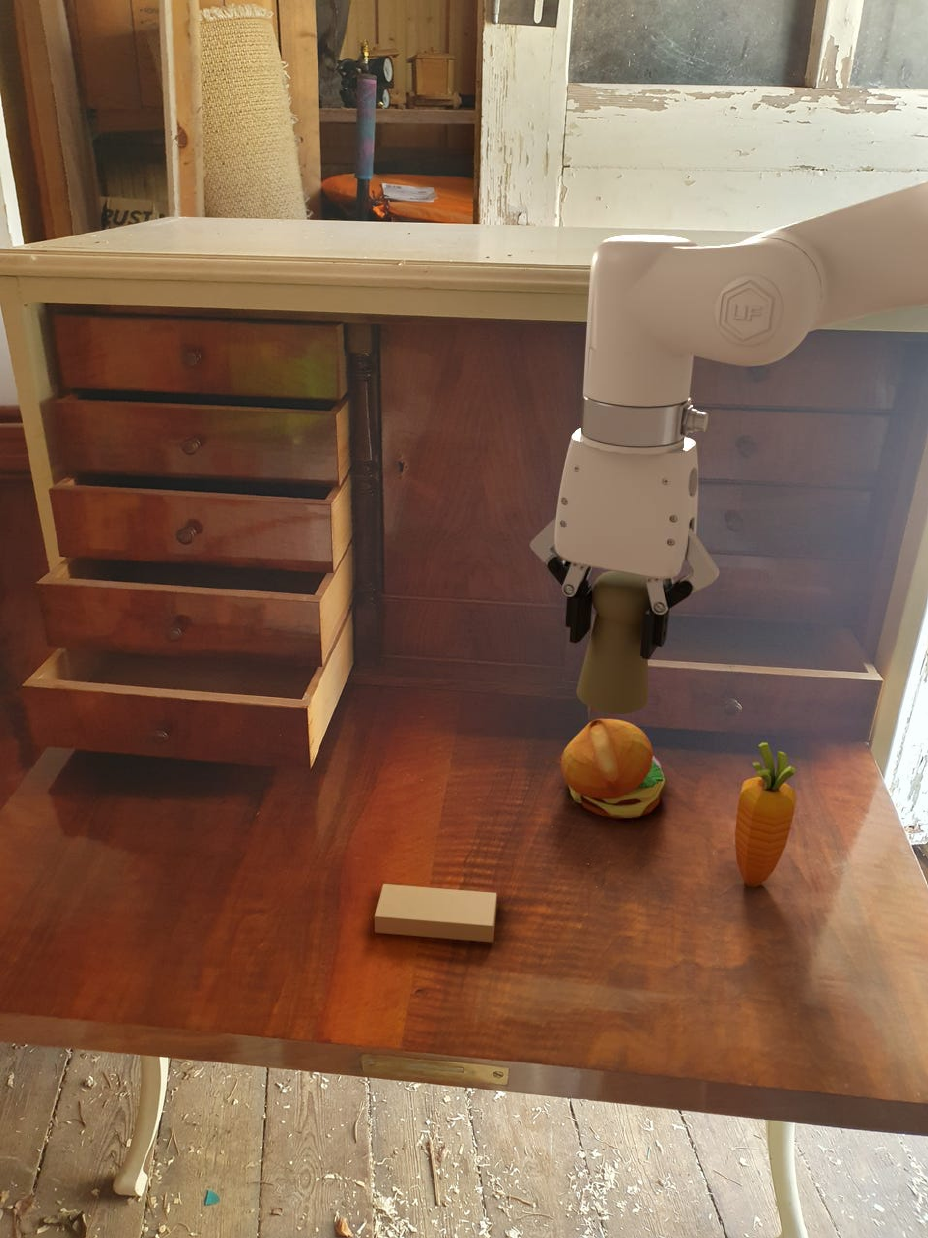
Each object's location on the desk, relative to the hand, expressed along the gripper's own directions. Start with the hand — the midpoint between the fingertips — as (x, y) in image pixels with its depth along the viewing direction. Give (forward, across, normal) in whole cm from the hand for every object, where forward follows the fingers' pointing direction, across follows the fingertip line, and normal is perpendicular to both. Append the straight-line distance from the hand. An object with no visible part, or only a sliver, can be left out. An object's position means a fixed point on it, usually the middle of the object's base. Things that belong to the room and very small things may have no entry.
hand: (614, 641), depth 77 cm
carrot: (+25, -13, -6) cm, 29 cm away
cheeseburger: (+25, +2, -13) cm, 28 cm away
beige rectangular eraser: (+25, +10, +11) cm, 29 cm away
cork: (+6, 0, -2) cm, 6 cm away
